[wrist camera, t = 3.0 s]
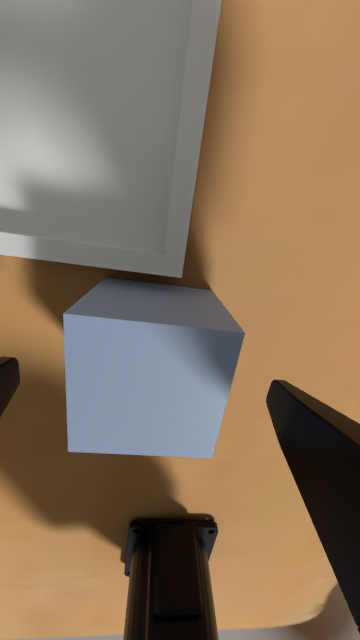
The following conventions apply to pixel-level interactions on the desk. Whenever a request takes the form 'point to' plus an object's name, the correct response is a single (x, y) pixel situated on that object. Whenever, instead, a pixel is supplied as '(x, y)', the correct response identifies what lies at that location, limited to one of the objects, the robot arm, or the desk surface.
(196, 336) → the block
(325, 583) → the desk surface
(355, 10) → the desk surface
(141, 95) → the tray
